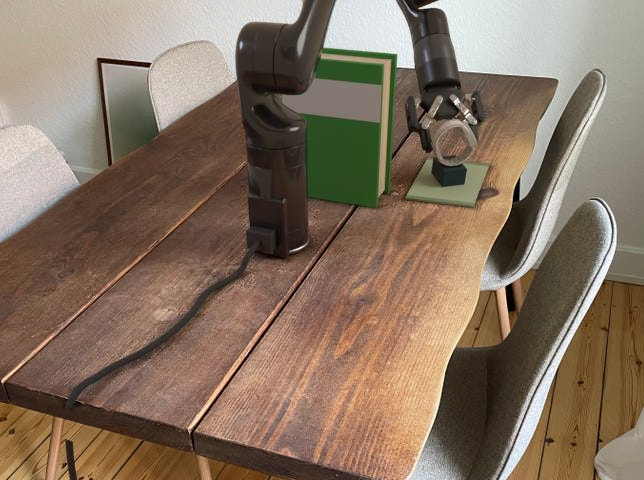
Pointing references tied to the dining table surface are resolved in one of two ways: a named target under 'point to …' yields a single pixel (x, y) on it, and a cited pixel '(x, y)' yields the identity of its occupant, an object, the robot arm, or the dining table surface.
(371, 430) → the dining table surface
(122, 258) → the dining table surface
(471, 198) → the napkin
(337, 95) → the hardback book
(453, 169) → the watch
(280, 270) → the dining table surface
